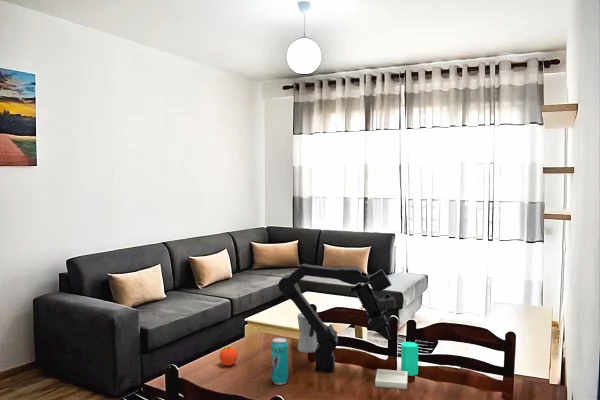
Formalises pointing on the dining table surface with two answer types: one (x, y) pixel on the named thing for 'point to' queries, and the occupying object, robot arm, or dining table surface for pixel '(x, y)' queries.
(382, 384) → the tray
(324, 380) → the dining table surface
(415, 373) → the candle
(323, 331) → the robot arm
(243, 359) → the dining table surface
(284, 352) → the beverage can
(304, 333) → the coffee maker
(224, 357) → the clementine
